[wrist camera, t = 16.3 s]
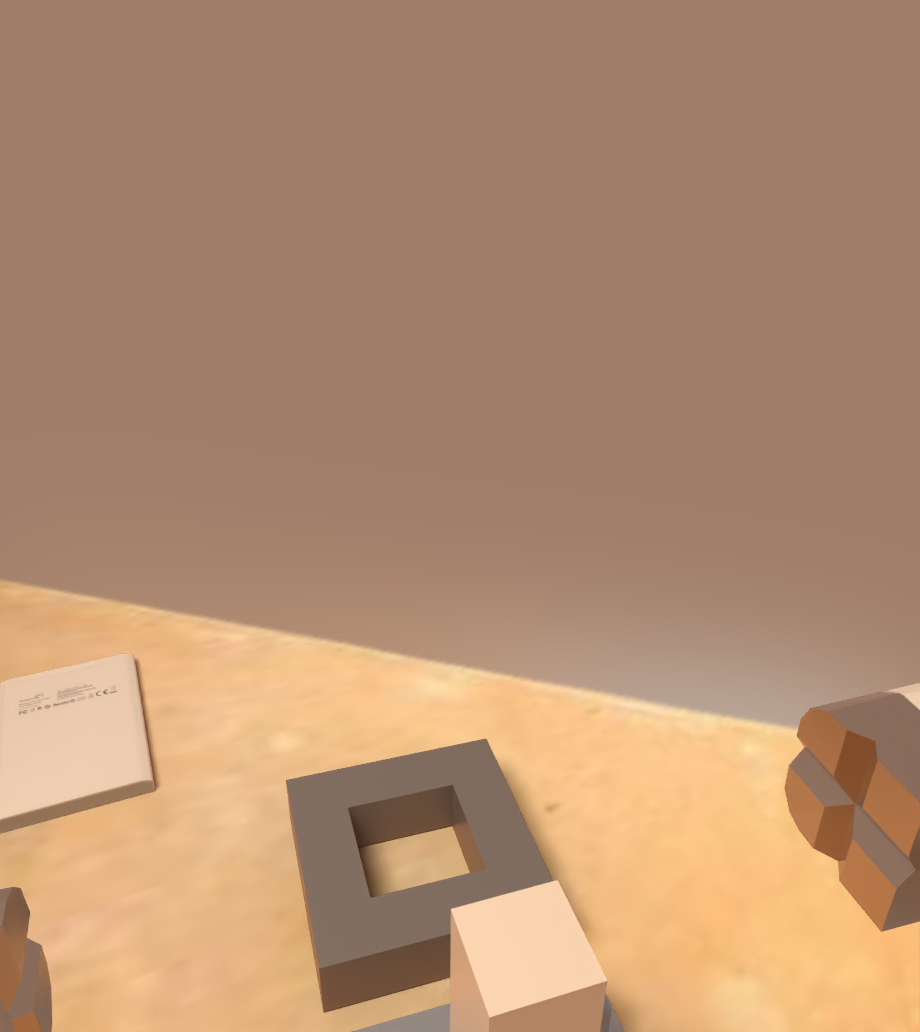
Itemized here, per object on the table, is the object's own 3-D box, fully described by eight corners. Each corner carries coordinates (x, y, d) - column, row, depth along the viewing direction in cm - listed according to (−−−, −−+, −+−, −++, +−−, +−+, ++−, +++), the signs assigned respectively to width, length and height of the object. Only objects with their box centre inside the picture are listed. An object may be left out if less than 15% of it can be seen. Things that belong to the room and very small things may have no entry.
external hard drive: (-4, 843, 47) (3, 699, 57) (157, 798, 49) (137, 668, 59) (-12, 821, 46) (-3, 679, 56) (152, 777, 49) (133, 649, 59)
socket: (323, 1012, 38) (319, 968, 37) (290, 821, 47) (286, 780, 46) (559, 946, 41) (563, 903, 39) (484, 778, 50) (486, 738, 49)
